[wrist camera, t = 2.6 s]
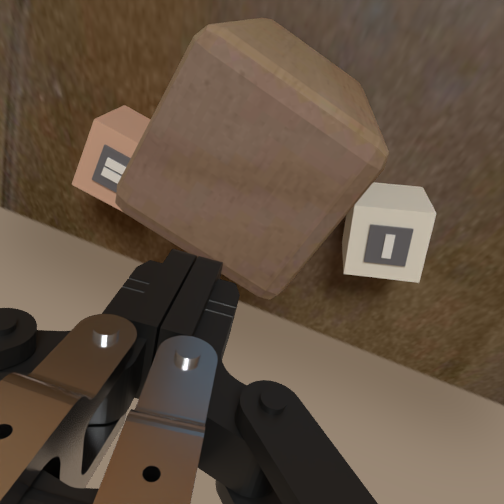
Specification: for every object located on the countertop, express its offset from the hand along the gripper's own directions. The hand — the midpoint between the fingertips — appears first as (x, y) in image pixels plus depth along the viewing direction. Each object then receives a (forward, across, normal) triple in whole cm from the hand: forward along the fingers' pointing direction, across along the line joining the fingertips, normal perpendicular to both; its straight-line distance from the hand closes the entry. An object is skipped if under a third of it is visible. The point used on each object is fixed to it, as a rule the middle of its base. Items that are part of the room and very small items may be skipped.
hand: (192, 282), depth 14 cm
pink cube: (+29, +11, +7) cm, 32 cm away
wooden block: (+29, 0, 0) cm, 29 cm away
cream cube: (+29, -11, +7) cm, 32 cm away
